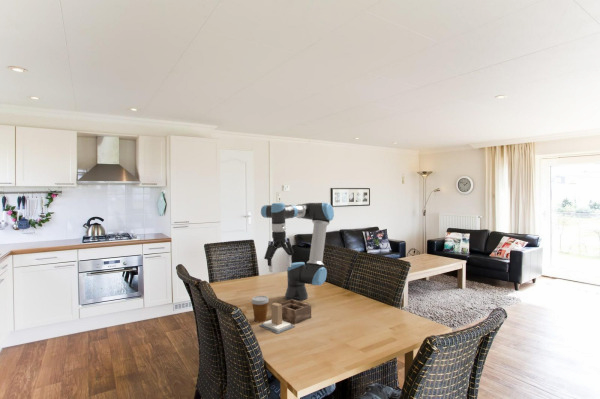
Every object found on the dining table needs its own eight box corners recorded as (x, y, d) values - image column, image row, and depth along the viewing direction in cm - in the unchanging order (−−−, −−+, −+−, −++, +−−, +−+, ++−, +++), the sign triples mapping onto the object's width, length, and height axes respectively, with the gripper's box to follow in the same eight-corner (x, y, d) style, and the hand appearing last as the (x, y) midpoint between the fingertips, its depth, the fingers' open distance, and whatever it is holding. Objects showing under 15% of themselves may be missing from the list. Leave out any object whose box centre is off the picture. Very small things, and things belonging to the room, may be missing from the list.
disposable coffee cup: (252, 324, 177) (252, 301, 177) (250, 317, 186) (250, 296, 186) (270, 322, 179) (270, 300, 179) (267, 315, 189) (267, 294, 188)
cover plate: (262, 325, 174) (262, 303, 174) (275, 320, 181) (275, 299, 181) (278, 331, 166) (277, 309, 166) (291, 326, 173) (290, 304, 172)
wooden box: (275, 316, 187) (275, 304, 187) (292, 310, 196) (291, 299, 196) (295, 324, 176) (295, 310, 176) (311, 317, 185) (311, 305, 185)
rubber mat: (258, 325, 174) (258, 325, 174) (276, 319, 183) (276, 318, 183) (277, 334, 164) (277, 333, 164) (295, 326, 172) (295, 326, 172)
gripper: (266, 234, 171) (267, 275, 172) (299, 228, 189) (300, 265, 190) (256, 233, 176) (258, 272, 177) (290, 227, 194) (291, 263, 195)
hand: (280, 269), depth 183 cm, fingers open, 13 cm apart
